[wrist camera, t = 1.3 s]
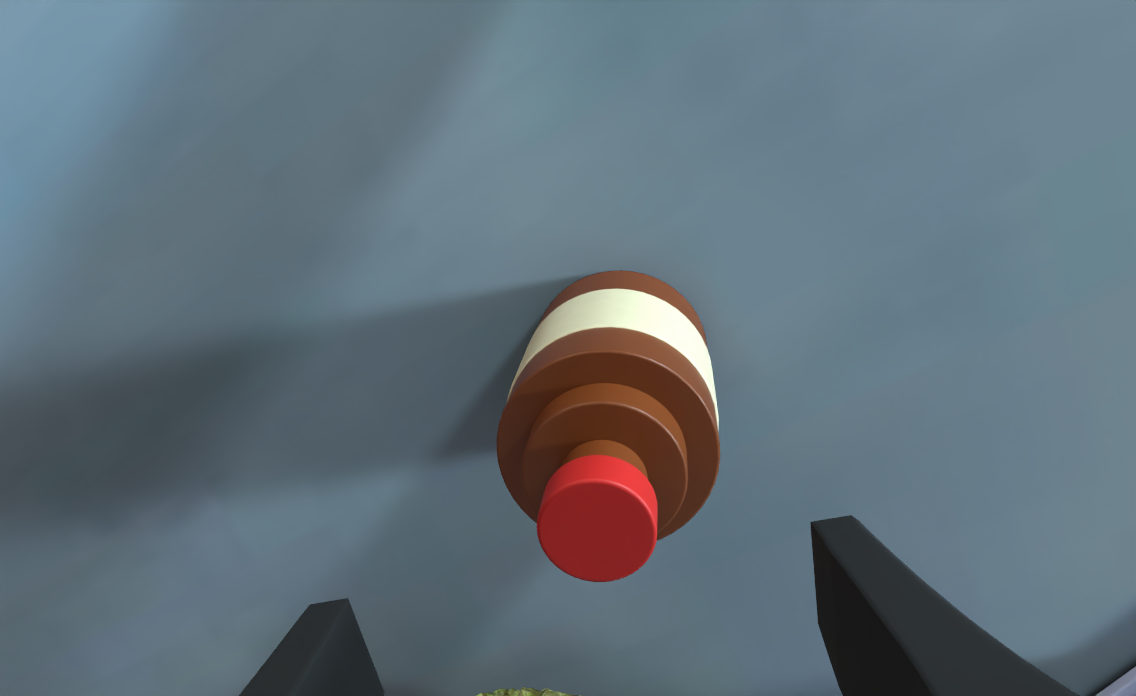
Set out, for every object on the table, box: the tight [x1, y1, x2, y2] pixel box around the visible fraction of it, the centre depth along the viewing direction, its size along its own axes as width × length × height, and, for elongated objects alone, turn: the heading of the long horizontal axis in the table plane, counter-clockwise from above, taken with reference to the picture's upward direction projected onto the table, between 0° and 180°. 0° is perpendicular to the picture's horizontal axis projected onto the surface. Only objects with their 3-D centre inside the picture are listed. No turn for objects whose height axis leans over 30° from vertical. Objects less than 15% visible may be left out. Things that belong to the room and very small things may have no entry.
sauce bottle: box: [497, 271, 720, 582], centre depth 20 cm, size 5×5×9 cm
